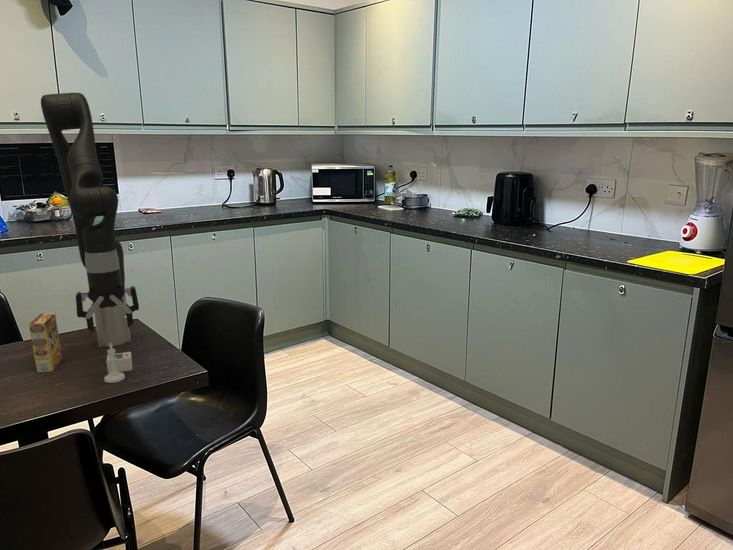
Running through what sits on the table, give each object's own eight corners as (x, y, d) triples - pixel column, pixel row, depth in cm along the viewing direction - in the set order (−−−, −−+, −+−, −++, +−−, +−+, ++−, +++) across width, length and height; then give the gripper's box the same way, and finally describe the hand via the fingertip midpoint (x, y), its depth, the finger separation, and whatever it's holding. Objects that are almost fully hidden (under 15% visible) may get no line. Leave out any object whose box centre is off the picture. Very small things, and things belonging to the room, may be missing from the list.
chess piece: (120, 373, 147) (116, 338, 144) (127, 378, 143) (123, 343, 141) (101, 378, 143) (97, 342, 141) (108, 384, 140) (103, 347, 138)
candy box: (53, 375, 148) (45, 322, 145) (36, 377, 147) (28, 323, 144) (63, 363, 157) (56, 312, 153) (47, 364, 156) (39, 313, 152)
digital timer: (132, 363, 153) (130, 350, 152) (132, 370, 148) (130, 357, 148) (108, 366, 151) (107, 354, 150) (107, 373, 146) (106, 360, 145)
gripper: (133, 261, 142) (140, 320, 146) (72, 267, 137) (81, 328, 141) (134, 268, 136) (141, 329, 140) (69, 274, 130) (79, 338, 134)
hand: (111, 328), depth 140 cm, fingers open, 8 cm apart
